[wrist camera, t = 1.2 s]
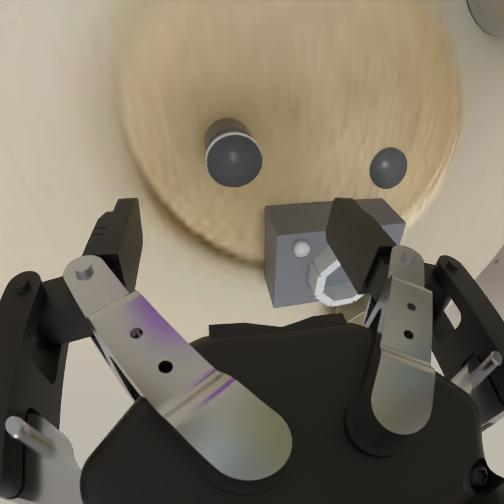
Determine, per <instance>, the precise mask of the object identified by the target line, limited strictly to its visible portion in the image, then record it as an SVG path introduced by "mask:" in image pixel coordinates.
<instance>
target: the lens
mask: <svg viewBox="0 0 504 504" xmlns="http://www.w3.org/2000/svg"><path fill="white" fill-rule="evenodd" d="M205 146H206V157H205V159H206V167H207V170H208V172H209V174H210V175H211V177H212V178H213V179H214V180H215V181H216V182H217V183H219V184H221V185H223V186H227V187H240V186H243V185H246V184H248V183H249V182H251V181H252V180H253V179H254V178H255V177H256V176H257V175H258V173H259V171H260V169H261V166H262V153H261V150H260V148H259V146H258V144H257V143H256V141H255V140H254V139H253V138H252V137H251V135H250V134H249V132H248V130H247V129H246V127H245V126H244V125H243V124H242V123H241V122H239V121H237V120H235V119H229V118H226V119H221V120H218V121H216V122H215V123H213V124H212V125H211V126H210V127H209V129H208V130H207V133H206V136H205Z"/></svg>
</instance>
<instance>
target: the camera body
mask: <svg viewBox="0 0 504 504" xmlns="http://www.w3.org/2000/svg"><path fill="white" fill-rule="evenodd" d="M355 201H356V202H357V204H358V205H359V206H360V207H361V208H362V209H363V210H364V211H365V212H367V213H368V214H370V215H371V216H372V217H373V218H374V219H375V220H376V221H377V222H378V224H379V225H380V226H381V227H382V228H383V230H385V231H386V233H387V234H388V235H389V236H390V237H391V238H392V240H393V241H394V242H395V243H396V244H397V245H399V244H400V241H401V238H402V235H403V232H404V228H405V225H406V222H405V221H404V220H403V219H402V218H401V217H400V216H399V215H398V214H397V213H396V212H395V211H394V210H393V209H392V208H391V207H390V206H389V205H388V204H387V203H386V202H385V201H384V200H383V199H365V200H355ZM332 204H333V201H331V202H317V203H303V204H291V205H279V206H267V207H265V273H264V276H265V280H266V283H267V287H268V290H269V294H270V297H271V300H272V304H273V307H274V308H278V307H285V306H292V305H298V304H304V303H310V302H316V301H321V302H323V303H324V304H326V305H327V306H330V305H331V307H333V306H339V305H344V304H349V303H353V300H354V301H357V300H358V299H359V298H360V297H362V296H363V295H364V294H362V295H358V294H357V292H356V290H355V288H354V287H353V285H352V283H351V281H350V280H349V278H348V276H347V275H346V273H345V271H344V270H343V268H342V266H341V264H340V263H339V261H338V259H337V258H336V256H335V254H334V253H333V251H332V250H331V248H330V246H329V245H328V243H327V240H326V227H327V223H328V219H329V215H330V211H331V207H332Z"/></svg>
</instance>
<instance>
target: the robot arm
mask: <svg viewBox="0 0 504 504" xmlns="http://www.w3.org/2000/svg"><path fill="white" fill-rule="evenodd" d="M467 1H468V4H469V8H470V10H471V13H472V15H473V17H474V19H475V20H476V22H477V24H478V25H479V26H480V27H481V28H482V29H483V30H484V31H485V32H487V33H488V34H492V35H497V36H501V37H504V0H467ZM326 240H327V243H328V245H329V246H330V248H331V250H332V251H333V253H334V254H335V256H336V258H337V259H338V261H339V263H340V264H341V266H342V268H343V270H344V271H345V273H346V275H347V276H348V278H349V280H350V281H351V283H352V285H353V287H354V288H355V290H356V292H357V294H358V295H362V294H371V297H370V299H369V301H368V304H367V308H366V311H365V315H364V319H363V322H362V325H358V324H354V323H348V322H347V321H346V319H345V317H344V315H343V313H336V314H328V315H320V316H313V317H310V318H307V319H304V320H301V321H299V322H296V323H293V324H290V325H287V326H284V327H276V326H267V325H259V324H250V323H233V324H217V325H209V336H206V337H202V338H200V339H197V340H195V341H193V342H191V343H189V344H188V343H187V342H186V341H185V340H184V339H183V338H182V337H181V336H180V335H179V334H178V333H177V332H176V331H175V330H174V329H173V328H172V327H171V326H170V325H169V324H168V323H167V321H166V320H165V319H164V318H163V317H162V316H161V315H160V314H159V313H158V312H157V311H156V310H155V309H154V308H153V307H152V306H151V305H150V304H149V302H148V301H147V300H146V299H145V298H144V297H143V296H142V295H141V294H140V293H139V292H138V291H136V290H135V285H136V279H137V273H138V267H139V262H140V256H141V251H142V245H143V235H142V226H141V219H140V210H139V202H138V199H137V198H125V199H118V201H117V203H116V206H115V208H114V210H113V212H106V213H105V214H103V215H102V216H101V217H100V218H99V219H98V221H97V223H96V225H95V227H94V229H93V231H92V234H91V236H90V238H89V240H88V243H87V245H86V247H85V250H84V252H83V255H82V256H81V257H79V258H76V259H74V260H73V261H71V262H70V263H69V264H68V265H67V266H66V268H65V270H64V273H63V276H62V277H59V278H55V279H52V280H48V281H45V282H42V280H41V278H40V276H39V274H38V273H36V272H33V271H26V272H22V273H20V274H18V275H16V276H15V277H14V278H13V279H11V281H10V282H9V283H8V285H7V286H6V289H5V291H4V293H3V295H2V298H1V300H0V498H3V499H5V500H8V501H11V502H15V503H18V504H504V478H502V477H500V476H498V475H496V474H495V473H493V472H492V471H491V470H490V469H489V467H488V466H487V463H486V460H485V457H484V452H483V444H482V434H481V433H482V431H484V430H486V429H487V428H489V427H490V426H492V425H493V424H494V423H496V422H497V421H499V420H500V419H501V418H503V417H504V321H503V320H502V318H501V317H500V315H499V314H498V312H497V311H496V309H495V308H494V306H493V305H492V304H491V302H490V301H489V299H488V298H487V297H486V295H485V294H484V293H483V291H482V290H481V288H480V287H479V286H478V284H477V283H476V282H475V280H474V279H473V278H472V277H471V275H470V274H469V273H468V272H467V270H466V269H465V268H464V267H463V265H462V264H461V263H460V262H459V261H457V260H456V259H454V258H452V257H450V256H446V255H442V256H440V257H439V259H438V261H437V263H436V265H432V264H427V263H424V260H423V258H422V257H421V256H420V254H419V253H417V252H416V251H415V250H413V249H411V248H409V247H406V246H402V245H397V244H396V243H395V242H394V241H393V240H392V238H391V237H390V236H389V235H388V234H387V233H386V231H385V230H383V228H382V227H381V226H380V225H379V224H378V222H377V221H376V220H375V219H374V218H373V217H372V216H371V215H370V214H368V213H367V212H365V211H364V210H363V209H362V208H361V207H360V206H359V205H358V204H357V202H356V201H355V200H354V199H352V198H335V199H334V201H333V204H332V207H331V211H330V215H329V219H328V223H327V227H326ZM451 299H452V300H453V301H454V303H455V304H456V306H457V307H458V309H459V311H460V313H461V322H460V324H459V326H458V327H457V328H456V329H454V327H453V325H452V324H451V322H450V320H449V319H448V317H447V315H446V314H445V312H444V309H445V308H446V306H447V305H448V303H449V302H450V300H451ZM87 337H90V338H91V340H92V341H93V343H94V344H95V346H96V347H97V349H98V351H99V352H100V353H101V355H102V357H103V358H104V360H105V361H106V363H107V364H108V366H109V367H110V368H111V370H112V371H113V373H114V374H115V376H116V377H117V379H118V380H119V382H120V383H121V385H122V386H123V388H124V389H125V391H126V392H127V394H128V395H129V396H130V397H131V399H132V400H133V401H134V404H133V405H132V406H131V407H130V408H129V410H128V411H127V412H126V413H125V415H123V417H122V418H121V419H120V420H119V421H118V423H117V424H116V425H115V426H114V427H113V429H112V430H111V431H110V432H109V433H108V435H107V436H106V437H105V438H104V440H103V441H102V442H101V443H100V444H99V446H98V447H97V448H96V449H95V450H94V451H93V453H92V454H91V455H90V456H89V457H88V459H87V460H86V462H85V464H84V466H83V468H82V470H81V469H80V468H79V466H78V465H77V463H76V461H75V459H74V453H73V448H72V445H71V443H70V441H69V439H68V438H67V437H66V436H65V435H64V434H63V433H62V432H61V431H59V423H60V409H61V408H60V407H61V397H62V387H63V379H64V370H65V364H66V363H65V362H66V357H67V351H68V345H69V342H72V341H76V340H79V339H83V338H87ZM431 350H432V352H433V354H434V355H435V357H436V359H437V361H438V363H439V365H440V367H441V369H442V372H443V374H444V376H445V377H443V376H442V375H441V374H439V373H437V372H436V371H435V370H434V368H432V367H431V364H430V363H431Z"/></svg>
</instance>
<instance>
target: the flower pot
mask: <svg viewBox="0 0 504 504" xmlns="http://www.w3.org/2000/svg"><path fill="white" fill-rule="evenodd" d="M370 297H371V294H364V295H363V296H362V297H360V298H359V299H358V300H357V301H354V300H353V303H349V304H344V305H339V306H336V309H335V314H336V313H343V315H344V317H345V319H346V321H347V322H348V323H354V324H358V325H362V322H363V319H364V315H365V311H366V308H367V304H368V301H369V299H370Z"/></svg>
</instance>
